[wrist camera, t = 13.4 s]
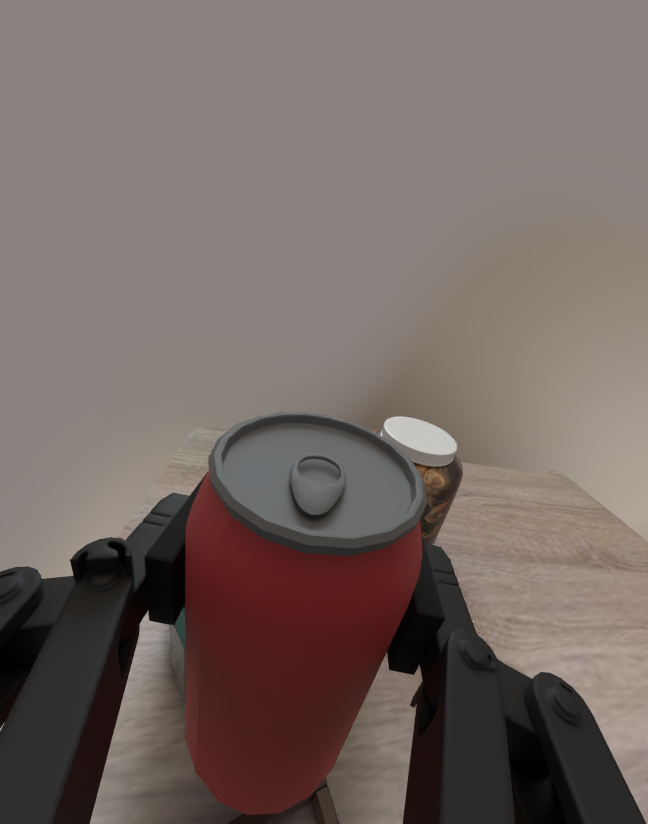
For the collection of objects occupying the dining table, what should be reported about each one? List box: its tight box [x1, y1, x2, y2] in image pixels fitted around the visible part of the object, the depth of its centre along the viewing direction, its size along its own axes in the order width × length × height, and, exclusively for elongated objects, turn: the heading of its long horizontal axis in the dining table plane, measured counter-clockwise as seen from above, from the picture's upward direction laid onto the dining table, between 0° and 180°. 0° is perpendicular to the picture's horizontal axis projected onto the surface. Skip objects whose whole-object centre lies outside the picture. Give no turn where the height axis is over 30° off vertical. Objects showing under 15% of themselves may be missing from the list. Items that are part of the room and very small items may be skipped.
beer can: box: [185, 412, 427, 815], centre depth 10 cm, size 7×7×12 cm
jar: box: [373, 417, 463, 545], centre depth 37 cm, size 12×12×15 cm
